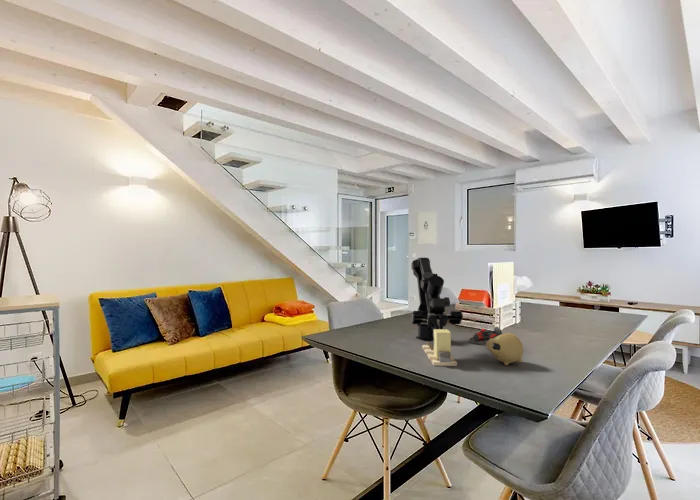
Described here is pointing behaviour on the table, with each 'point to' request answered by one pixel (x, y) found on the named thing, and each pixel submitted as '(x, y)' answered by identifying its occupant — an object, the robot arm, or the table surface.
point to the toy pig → (506, 348)
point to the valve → (485, 335)
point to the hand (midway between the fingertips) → (440, 336)
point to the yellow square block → (441, 341)
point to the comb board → (435, 361)
